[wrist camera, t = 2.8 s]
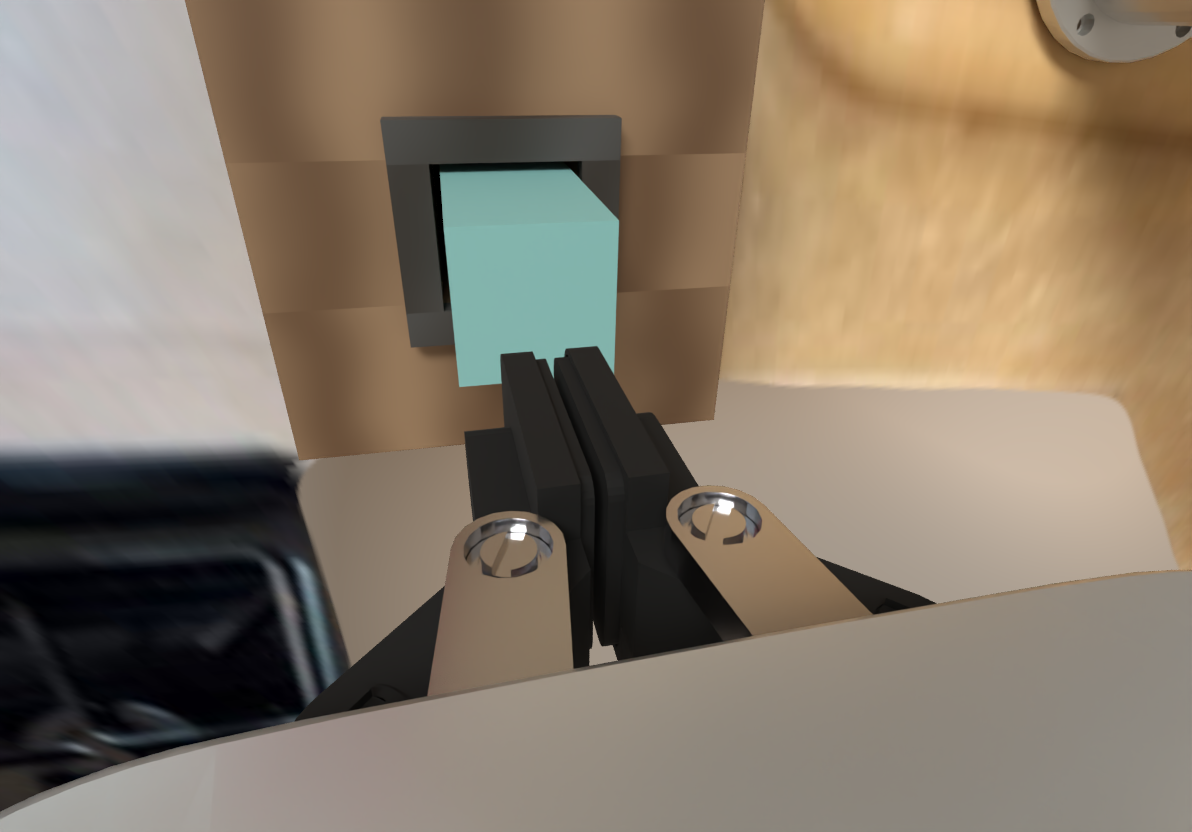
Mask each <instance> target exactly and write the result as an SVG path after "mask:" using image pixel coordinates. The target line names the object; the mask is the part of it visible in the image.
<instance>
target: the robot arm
mask: <svg viewBox="0 0 1192 832" xmlns="http://www.w3.org/2000/svg"><path fill="white" fill-rule="evenodd" d="M1036 2H1037V5H1038V8H1039V11H1040V14H1041V17H1042V20H1043V21H1044V23H1045V24H1046V26H1047V28H1048V29H1049V31H1050V32H1051V34H1052V36H1053V37H1054V38H1055V39H1056V40H1057V41H1058V42H1059V43H1060V44H1061V45H1062V46H1063V47H1065V48H1066V49H1067V50H1068V51H1069V52H1071V53H1074V54H1076V55H1078V56H1080V57H1082V58H1084V59H1087V60H1094V61H1101V62H1127V63H1131V62H1135V61H1140V60H1144V59H1148V58H1153V57H1155V56H1157V55H1160V54H1162V53H1164V52H1166V51H1169V50H1171V49H1173V48H1175V47H1177V46H1179V45H1180V44H1182V43H1183V42H1185V41H1186V40H1188V39H1189V38H1191V37H1192V0H1036ZM500 366H501V382H502V398H503V414H504V427H502V428H492V429H483V430H473V431H464V437H465V447H466V458H467V468H468V478H469V488H470V497H471V506H472V515H473V522H472V523H470V524H468V525H467V526H465V527H464V528H463V529H462V530H461V532H460V533H459V534H458V535H457V536H456V537H455V540H454V542H453V545H452V547H451V551H450V558H449V563H448V570H447V576H446V583H445V586H444V587H443V588H442V589H441V590H439V591H438V592H437V593H436V594H435V595H434V596H432V597H431V598H430V599H429V600H428V601H427V602H426V603H424V604H423V605H422V606H421V607H420V608H419V609H418V610H416V611H415V612H414V613H413V614H412V615H411V616H409V617H408V618H407V619H406V620H405V621H404V622H403V623H401V624H400V625H399V626H398V627H397V628H396V629H395V630H393V631H392V632H391V633H390V634H389V635H388V636H387V637H385V638H384V639H383V640H382V641H381V642H380V643H379V644H377V645H376V646H375V647H374V648H373V649H372V650H370V651H369V652H368V653H367V654H366V655H365V656H364V657H362V658H361V659H360V660H359V661H358V662H357V663H356V664H354V665H353V666H352V667H351V668H350V669H349V670H347V671H346V672H345V673H344V674H343V675H342V676H341V677H339V678H338V679H337V680H336V681H335V682H334V683H332V684H331V685H330V686H329V687H328V688H327V689H326V690H324V691H323V692H322V693H321V694H320V695H319V696H318V697H316V698H315V699H314V700H313V701H312V702H311V703H310V704H309V705H308V706H307V707H306V708H305V709H304V711H303V712H302V713H301V714H300V715H299V716H298V717H297V718H296V720H295V722H291V723H286V724H282V725H277V726H273V727H268V728H264V729H259V730H255V731H250V732H246V733H241V734H237V735H232V736H228V737H223V738H218V739H214V740H209V741H205V742H200V743H196V744H191V745H187V746H182V747H178V748H174V749H171V750H167V751H164V752H160V753H157V754H154V755H150V756H147V757H143V758H140V759H136V760H133V761H129V762H126V763H122V764H119V765H115V766H112V767H109V768H106V769H104V770H101V771H98V772H96V773H93V774H90V775H88V776H85V777H82V778H80V779H77V780H74V781H71V782H69V783H66V784H63V785H61V786H58V787H55V788H53V789H50V790H47V791H45V792H42V793H39V794H37V795H35V796H33V797H30V798H28V799H26V800H24V801H22V802H20V803H18V804H16V805H14V806H11V807H9V808H7V809H5V810H3V811H1V812H0V832H1192V570H1167V571H1152V572H1151V571H1149V572H1133V573H1126V574H1119V575H1111V576H1105V577H1097V578H1090V579H1083V580H1075V581H1069V582H1061V583H1054V584H1048V585H1043V586H1037V587H1031V588H1025V589H1019V590H1014V591H1008V592H1002V593H996V594H990V595H985V596H979V597H973V598H967V599H962V600H956V601H950V602H944V603H938V604H936V603H935V602H932V601H930V600H928V599H926V598H924V597H922V596H920V595H917V594H915V593H912V592H910V591H907V590H904V589H901V588H898V587H896V586H893V585H891V584H888V583H885V582H883V581H880V580H877V579H874V578H872V577H869V576H866V575H863V574H861V573H858V572H856V571H853V570H850V569H847V568H845V567H842V566H839V565H837V564H834V563H831V562H829V561H826V560H823V559H820V558H818V557H815V556H814V555H813V554H812V552H811V551H810V550H809V549H807V547H806V546H805V545H804V544H803V543H801V541H800V540H799V539H798V538H797V537H796V536H795V535H794V534H793V533H792V532H791V531H790V530H789V529H788V528H787V527H786V526H785V525H784V524H783V523H782V522H781V521H780V520H779V519H778V518H777V517H776V516H775V515H774V514H773V513H772V512H771V511H770V510H769V509H768V508H767V507H766V506H765V505H764V504H762V503H761V502H760V501H758V500H757V499H756V498H755V497H753V496H751V495H749V494H746V493H744V492H742V491H740V490H737V489H732V488H729V487H725V486H711V485H707V486H698V484H697V483H696V481H695V480H694V478H693V476H692V475H691V473H690V471H689V470H688V468H687V467H686V465H685V463H684V462H683V460H682V458H681V457H680V455H679V453H678V452H677V450H676V449H675V447H674V446H673V444H672V442H671V440H670V439H669V437H668V436H667V434H666V432H665V431H664V429H663V427H662V426H661V424H660V423H659V421H658V419H657V418H656V416H655V415H654V414H653V413H651V412H646V413H636V412H635V411H634V409H633V407H632V405H631V404H630V402H629V400H628V398H627V397H626V395H625V393H624V391H623V390H622V388H621V386H620V384H619V383H618V381H617V379H616V377H615V375H614V374H613V372H612V370H611V368H610V367H609V365H608V363H607V361H606V360H605V358H604V356H603V354H602V353H601V351H600V349H599V348H598V347H597V346H591V347H579V348H567V349H566V350H565V354H564V357H558V358H554V378H553V376H552V373H551V370H550V368H549V365H548V363H547V360H546V359H535V356H534V353H533V351H530V352H518V353H506V354H501V355H500ZM593 622H594V625H595V628H596V632H597V635H598V638H599V641H600V644H601V646H609V645H613V647H614V650H615V654H616V657H617V660H618V661H614V662H608V663H603V664H598V665H593V666H589V649H591V648H592V642H593Z"/></svg>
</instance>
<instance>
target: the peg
mask: <svg viewBox="0 0 1192 832" xmlns="http://www.w3.org/2000/svg"><path fill="white" fill-rule="evenodd" d="M439 167H440V182H441V196H442V211H443V225H444V236H445V246H446V257H447V267H448V277H449V287H450V298H451V308H452V318H453V328H454V338H455V349H456V359H457V369H458V379H459V387H466V386H478V385H490V384H502V382H501V366H500V355H501V354H506V353H518V352H530V351H533V353H534V356H535V359H546V360H547V363H548V365H549V368H550V370H551V373H552V376H553V378H554V358H558V357H564V354H565V350H566V349H567V348H579V347H591V346H597V347H598V348H599V349H600V351H601V353H602V354H603V356H604V358H605V360H606V361H607V363H608V365H609V367H610V368H611V370H612V372H613V374H614V358H615V328H616V298H617V268H618V237H619V220H618V219H617V218H616V217H615V216H614V215H613V214H612V213H611V211H610V210H609V209H608V208H607V207H606V206H605V205H604V204H603V203H602V202H601V201H600V200H599V199H598V198H597V197H596V196H595V194H594V193H593V192H592V191H591V190H590V189H589V188H588V187H587V186H586V185H585V184H584V183H583V182H582V181H581V180H580V179H579V177H578V176H577V175H576V174H575V173H574V172H573V171H572V170H571V169H570V168H569V167H568V166H567V165H566V164H565V163H564V162H563V161H554V162H506V163H458V164H439Z"/></svg>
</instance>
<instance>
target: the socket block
mask: <svg viewBox="0 0 1192 832" xmlns="http://www.w3.org/2000/svg"><path fill="white" fill-rule="evenodd" d="M764 2H765V0H185V3H186V7H187V11H188V15H189V19H190V23H191V27H192V31H193V35H194V39H195V43H196V47H197V51H198V55H199V59H200V63H201V67H202V71H203V75H204V79H205V83H206V87H207V91H208V95H209V99H210V103H211V107H212V111H213V115H214V119H215V123H216V127H217V131H218V135H219V139H220V143H221V147H222V151H223V155H224V159H225V163H226V167H227V171H228V175H229V179H230V183H231V187H232V191H233V195H234V200H235V204H236V208H237V212H238V216H239V220H240V224H241V228H242V232H243V236H244V240H245V244H246V248H247V252H248V256H249V260H250V264H251V268H252V272H253V276H254V280H255V284H256V288H257V292H258V296H259V300H260V304H261V308H262V312H263V316H264V320H265V324H266V328H267V332H268V336H269V340H270V344H271V348H272V352H273V356H274V360H275V364H276V368H277V372H278V376H279V380H280V384H281V388H282V392H283V396H284V400H285V404H286V408H287V412H288V416H289V420H290V424H291V428H292V432H293V436H294V440H295V444H296V448H297V452H298V456H299V460H308V459H319V458H328V457H339V456H349V455H359V454H369V453H379V452H390V451H399V450H410V449H420V448H430V447H441V446H451V445H461V444H465V437H464V431H473V430H483V429H492V428H502V427H504V414H503V398H502V384H490V385H478V386H466V387H459V379H458V369H457V359H456V349H455V338H454V328H453V318H452V308H451V298H450V287H449V277H448V267H447V257H446V246H445V236H444V232H440V228H439V218H438V208H437V198H436V188H435V178H434V168H433V164H458V163H506V162H554V161H563V162H564V163H565V164H566V165H567V166H568V167H569V168H570V169H571V170H572V171H573V172H574V173H575V174H576V175H577V176H578V177H579V179H580V180H581V181H582V182H583V183H584V184H585V185H586V186H587V187H588V188H589V189H590V190H591V191H592V192H593V193H594V194H595V196H596V197H597V198H598V199H599V200H600V201H601V202H602V203H603V204H604V205H605V206H606V207H607V208H608V209H609V210H610V211H611V213H612V214H613V215H614V216H615V217H616V218H617V219H618V220H619V237H618V268H617V298H616V328H615V358H614V375H615V377H616V379H617V381H618V383H619V384H620V386H621V388H622V390H623V391H624V393H625V395H626V397H627V398H628V400H629V402H630V404H631V405H632V407H633V409H634V411H635V412H636V413H646V412H651V413H653V414H654V415H655V416H656V418H657V419H658V421H659V423H660V424H661V425H665V424H675V423H685V422H695V421H705V420H714V413H715V404H716V397H717V388H718V380H719V372H720V364H721V356H722V347H723V339H724V331H725V323H726V314H727V306H728V298H729V290H730V282H731V273H732V265H733V257H734V249H735V240H736V232H737V224H738V216H739V207H740V199H741V191H742V183H743V175H744V166H745V158H746V150H747V142H748V133H749V125H750V117H751V109H752V101H753V92H754V84H755V76H756V68H757V59H758V51H759V43H760V35H761V26H762V18H763V10H764Z"/></svg>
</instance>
